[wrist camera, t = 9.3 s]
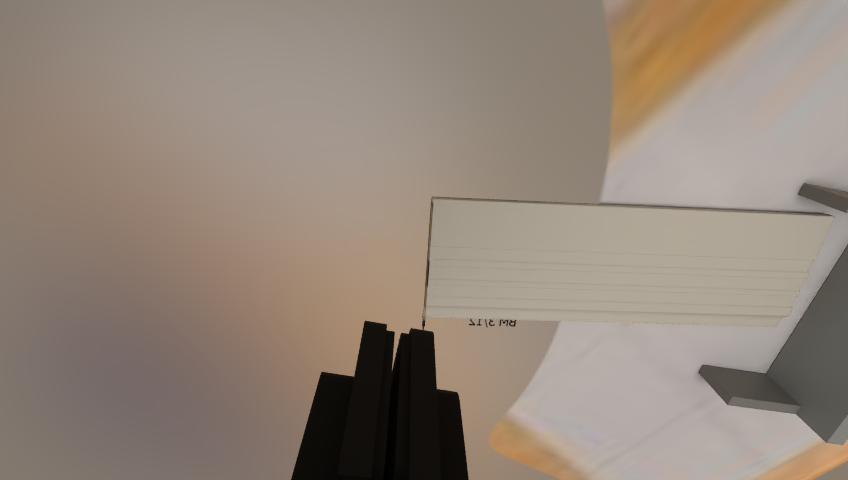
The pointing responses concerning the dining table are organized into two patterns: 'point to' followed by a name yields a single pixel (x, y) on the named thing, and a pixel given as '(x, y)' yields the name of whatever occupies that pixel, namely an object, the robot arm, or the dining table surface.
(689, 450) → the dining table surface
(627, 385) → the dining table surface
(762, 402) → the u-shaped bracket
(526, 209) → the baseboard molding
